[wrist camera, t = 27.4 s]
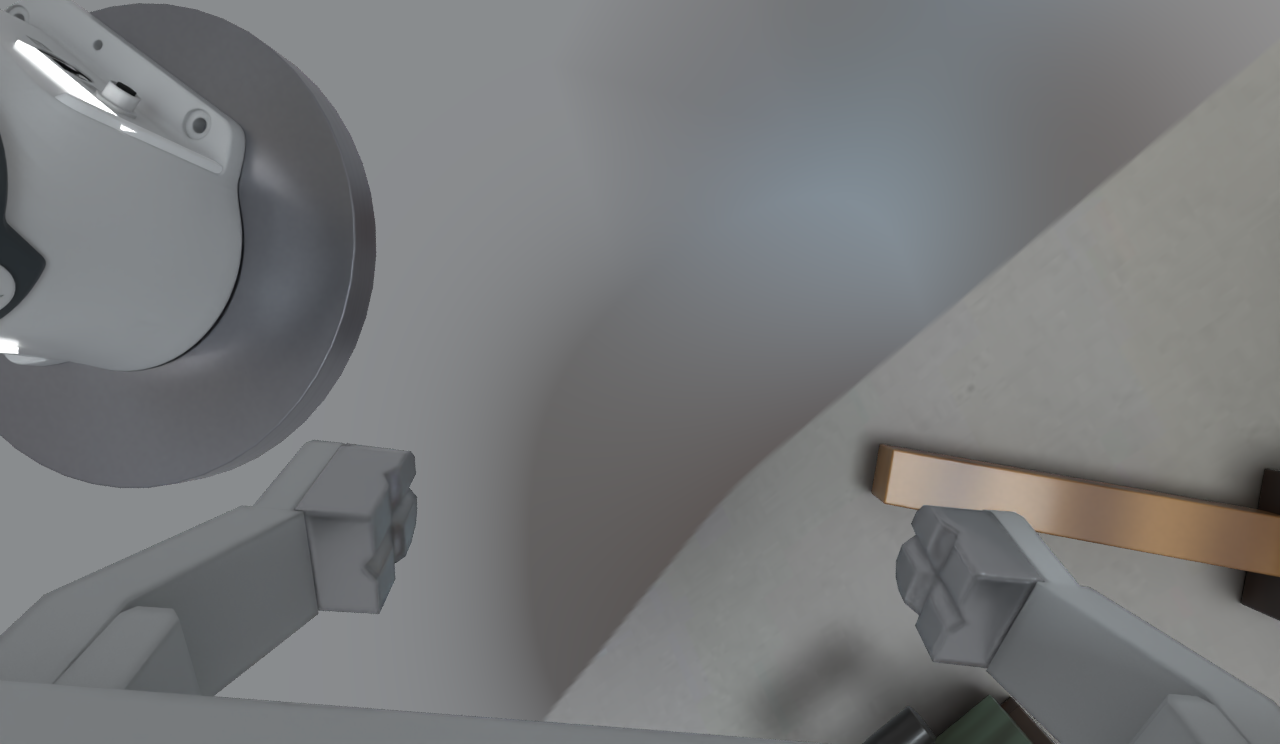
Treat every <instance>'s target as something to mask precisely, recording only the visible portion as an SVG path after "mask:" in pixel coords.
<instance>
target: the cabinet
mask: <svg viewBox="0 0 1280 744" xmlns="http://www.w3.org/2000/svg"><path fill="white" fill-rule="evenodd" d="M1000 706H1001V707H1002V708H1003V709H1004V710H1005V711H1006V712H1007V713H1008V714H1009V715H1010V717H1011V718H1012V719H1013V720H1014V721H1015V722H1016V724H1017V725H1018V726H1019V727H1020V728H1021V730H1022V731H1023V732H1024V733H1025V734H1026V735H1027V737H1028V738H1029V739H1030V740H1031V741H1032V743H1033V744H1055V743H1054V742H1053V741H1052V740H1051V739H1050V738H1049V737H1048V736H1047V735H1046V734H1045V732H1044V731H1043V730H1042V729H1041V728H1040V727H1039V726H1038V725H1037V724H1036V723H1035V722H1034V721H1033V720H1032V719H1031V717H1030V716H1029V715H1028V714H1027V713H1026V712H1025V711H1024V710H1023V709H1022V708H1021V707H1020V706H1019V705H1018V704H1017V702H1016V701H1015V700H1014V699H1013V698H1011V697H1010V698H1009V699H1008V700H1006V701H1005V702H1004V703H1003V704H1002V705H1000Z"/></svg>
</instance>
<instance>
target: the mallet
mask: <svg viewBox="0 0 1280 744" xmlns="http://www.w3.org/2000/svg"><path fill="white" fill-rule="evenodd" d="M872 494H873V495H874V496H875V497H877V498H878V499H879V500H881V501H882V502H883V503H885V504H889V505H894V506H899V507H905V508H910V509H916V510H919V509H920V508H921V507H922V506H923V505H932V506H942V507H952V508H962V509H973V510H997V511H1010V512H1016V513H1017V514H1019V515H1021V516H1023V517H1024V518H1025V519H1026V520H1027V522H1028V523H1029V524H1030V525H1031V526H1032V528H1033V529H1034V530H1035V531H1036V532H1039V533H1045V534H1050V535H1055V536H1061V537H1066V538H1071V539H1077V540H1082V541H1088V542H1093V543H1098V544H1104V545H1109V546H1115V547H1120V548H1125V549H1131V550H1136V551H1141V552H1147V553H1152V554H1158V555H1163V556H1168V557H1174V558H1179V559H1184V560H1190V561H1195V562H1201V563H1206V564H1211V565H1217V566H1222V567H1227V568H1233V569H1238V570H1244V571H1247V573H1246V579H1245V584H1244V590H1243V596H1242V601H1241V603H1242V604H1243V605H1245V606H1247V607H1250V608H1252V609H1254V610H1256V611H1259V612H1261V613H1263V614H1266V615H1268V616H1270V617H1273V618H1275V619H1277V620H1279V621H1280V471H1277V470H1271V469H1265V472H1264V478H1263V484H1262V489H1261V495H1260V500H1259V506H1258V509H1253V508H1247V507H1242V506H1236V505H1230V504H1224V503H1219V502H1213V501H1207V500H1201V499H1196V498H1190V497H1184V496H1178V495H1173V494H1167V493H1161V492H1155V491H1150V490H1144V489H1138V488H1132V487H1127V486H1121V485H1115V484H1109V483H1104V482H1098V481H1092V480H1086V479H1081V478H1075V477H1069V476H1063V475H1058V474H1052V473H1046V472H1040V471H1035V470H1029V469H1023V468H1017V467H1012V466H1006V465H1000V464H994V463H989V462H983V461H977V460H971V459H966V458H960V457H954V456H948V455H943V454H937V453H931V452H925V451H920V450H914V449H908V448H902V447H897V446H891V445H885V444H880V445H879V451H878V457H877V463H876V469H875V475H874V480H873V486H872Z"/></svg>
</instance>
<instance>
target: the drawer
mask: <svg viewBox="0 0 1280 744" xmlns="http://www.w3.org/2000/svg"><path fill="white" fill-rule="evenodd" d="M862 744H1033V743H1032V741H1031V740H1030V739H1029V738H1028V737H1027V735H1026V734H1025V733H1024V732H1023V731H1022V730H1021V728H1020V727H1019V726H1018V725H1017V724H1016V722H1015V721H1014V720H1013V719H1012V718H1011V717H1010V715H1009V714H1008V713H1007V712H1006V711H1005V710H1004V709H1003V708H1002V707H1001V706H1000V705H999V704H998V702H997V701H996V700H995V699H994V698H993V697H992V696H991V695H988V696H987V697H986V698H985V699H984V700H982V701H981V702H980V703H979V704H977V705H976V706H975V707H974V708H972V709H971V710H970V711H969V712H968V713H966V714H965V715H964V716H963V717H961V718H960V719H959V720H958V721H957V722H955V723H954V724H953V725H952V726H950V727H949V728H948V729H947V730H946V731H944V732H943V733H942V734H941V735H939V736H938V737H937V738H936V737H935V735H934V734H933V732H932V731H931V729H930V728H929V727H928V725H927V724H926V723H925V722H924V720H923V719H922V718H921V717H920V716H919V715H918V713H917V712H916V711H915V710H914V709H913V708H911V707H910V706H907V707H906V708H905V709H903V710H902V711H901V712H900V713H899V714H897V715H896V716H895V717H894V718H893V719H891V720H890V721H889V722H888V723H886V724H885V725H884V726H883V727H882V728H880V729H879V730H878V731H877V732H876V733H874V734H873V735H872V736H871V737H870V738H868V739H867V740H866V741H865V742H864V743H862Z"/></svg>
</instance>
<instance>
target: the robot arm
mask: <svg viewBox="0 0 1280 744" xmlns="http://www.w3.org/2000/svg"><path fill="white" fill-rule="evenodd" d="M206 124H207V126H206V129H205V131H204V132H203V129H204V127H205V125H206ZM245 147H246V139H245V134H244V131H243V129H242V128H241V126H240V125H239V124H238V123H237V122H235V121H234V120H233V119H231V118H230V117H229V116H227V115H226V114H225V113H223V112H222V111H221V110H219V109H218V108H217V107H215V106H214V105H213V104H211V103H210V102H209V101H207V100H206V99H205V98H203V97H202V96H201V95H199V94H198V93H197V92H195V91H194V90H192V89H191V88H190V87H188V86H187V85H186V84H184V83H183V82H182V81H180V80H179V79H178V78H176V77H175V76H174V75H172V74H171V73H170V72H168V71H167V70H166V69H164V68H163V67H162V66H160V65H159V64H158V63H156V62H155V61H154V60H152V59H151V58H149V57H148V56H147V55H145V54H144V53H143V52H141V51H140V50H139V49H137V48H136V47H135V46H133V45H132V44H131V43H129V42H128V41H127V40H125V39H124V38H123V37H121V36H120V35H119V34H117V33H116V32H115V31H113V30H112V29H111V28H109V27H108V26H106V25H105V24H104V23H102V22H101V21H100V20H98V19H97V18H96V17H94V16H93V15H92V14H90V13H89V12H88V11H86V10H85V9H84V8H82V7H81V6H79V5H78V4H77V3H75V2H73V1H71V0H20V1H18V2H16V3H14V4H12V5H11V6H9V7H8V8H6V9H4V10H1V9H0V354H4V355H5V357H6V358H7V359H8V360H9V361H11V362H13V363H15V364H20V365H29V366H50V365H55V364H60V363H65V362H74V363H80V364H84V365H88V366H93V367H97V368H102V369H106V370H113V371H138V370H144V369H149V368H153V367H156V366H159V365H162V364H164V363H166V362H169V361H171V360H173V359H175V358H176V357H178V356H180V355H181V354H183V353H184V352H186V351H187V350H189V349H190V348H191V347H192V346H194V345H195V344H196V343H197V342H198V341H199V340H200V339H201V338H202V337H203V336H204V335H205V334H206V333H207V332H208V331H209V330H210V328H211V327H212V326H213V325H214V323H215V322H216V320H217V319H218V318H219V316H220V315H221V313H222V311H223V309H224V308H225V306H226V304H227V302H228V300H229V298H230V295H231V293H232V290H233V288H234V285H235V282H236V278H237V274H238V271H239V266H240V260H241V252H242V224H241V216H240V209H239V202H238V181H239V177H240V173H241V169H242V165H243V160H244V155H245ZM415 475H416V470H415V457H414V455H413V454H412V453H411V451H404V450H396V449H388V448H380V447H372V446H363V445H356V444H348V443H347V444H344V443H338V442H328V441H319V440H312V441H309V442H306V443H305V444H304V445H303V446H302V448H301V449H300V450H299V451H298V452H297V454H296V455H295V456H294V457H293V459H292V460H291V461H290V462H289V463H288V464H287V466H286V467H285V468H284V469H283V470H282V472H281V473H280V474H279V475H278V476H277V478H276V479H275V480H274V481H273V482H272V484H271V485H270V486H269V487H268V488H267V490H266V491H265V492H264V493H263V495H262V496H261V497H260V498H259V499H258V500H257V502H256V503H255V504H254V505H253V506H240V507H237V508H235V509H233V510H231V511H229V512H226V513H224V514H222V515H220V516H217V517H215V518H213V519H211V520H209V521H207V522H204V523H202V524H200V525H198V526H195V527H193V528H191V529H189V530H186V531H184V532H182V533H180V534H178V535H175V536H173V537H171V538H169V539H167V540H164V541H162V542H160V543H158V544H156V545H153V546H151V547H149V548H147V549H144V550H142V551H140V552H138V553H136V554H133V555H131V556H129V557H127V558H125V559H122V560H120V561H118V562H116V563H113V564H111V565H109V566H107V567H104V568H102V569H100V570H98V571H96V572H93V573H91V574H89V575H87V576H85V577H82V578H80V579H78V580H76V581H74V582H71V583H69V584H67V585H65V586H62V587H60V588H58V589H56V590H54V591H51V592H49V593H47V594H45V595H43V596H42V597H41V598H40V599H39V600H38V601H37V602H36V603H35V604H34V605H33V606H32V607H31V608H30V609H28V611H26V612H25V613H24V614H23V615H22V616H21V617H20V618H19V619H18V620H17V621H15V622H14V623H13V624H12V625H11V626H10V627H9V628H8V629H7V630H6V631H5V632H4V633H3V634H2V635H0V744H828V743H815V742H802V741H789V740H776V739H763V738H750V737H737V736H724V735H710V734H697V733H684V732H671V731H658V730H645V729H632V728H619V727H606V726H593V725H580V724H567V723H554V722H541V721H527V720H514V719H502V718H489V717H488V718H487V717H476V716H462V715H450V714H436V713H424V712H411V711H410V712H409V711H398V710H385V709H372V708H359V707H346V706H332V705H320V704H307V703H293V702H281V701H268V700H254V699H240V698H228V697H215V696H214V695H216V694H217V693H218V692H219V691H221V690H222V689H223V688H224V687H226V686H227V685H228V684H230V683H231V682H232V681H233V680H235V679H236V678H237V677H238V676H240V675H241V674H242V673H243V672H245V671H246V670H247V669H249V668H250V667H251V666H253V665H254V664H255V663H256V662H258V661H259V660H260V659H261V658H263V657H264V656H265V655H267V654H268V653H269V652H270V651H271V650H273V649H274V648H275V647H277V646H278V645H279V644H280V643H282V642H283V641H284V640H285V639H287V638H288V637H289V636H291V635H292V634H293V633H295V632H296V631H297V630H298V629H300V628H301V627H302V626H303V625H305V624H306V623H307V622H308V621H310V620H311V619H312V618H314V617H315V616H316V615H317V614H318V610H321V611H337V612H354V613H355V612H356V613H371V614H372V613H373V614H379V613H380V611H381V609H382V607H383V605H384V602H385V600H386V598H387V596H388V594H389V592H390V589H391V587H392V585H393V583H394V581H395V563H396V562H398V561H399V560H401V559H402V558H404V557H405V556H406V554H407V551H408V549H409V547H410V544H411V542H412V537H413V534H414V529H415V525H416V517H417V496H416V495H415V494H414V493H413V492H412V490H411V489H410V488H409V487H410V485H411V483H412V481H413V479H414V476H415ZM911 524H912V527H913V529H914V532H915V534H916V535H915V536H914V537H912V538H911V539H910V540H908V541H907V542H905V543H904V544H903V545H902V547H901V550H900V552H899V555H898V558H897V560H896V580H897V585H898V589H899V592H900V594H901V596H902V599H903V601H904V603H905V604H907V605H908V606H909V607H910V608H911V609H913V610H914V611H915V612H916V613H917V614H919V617H918V620H917V623H916V625H915V626H916V628H917V630H918V632H919V634H920V636H921V638H922V641H923V643H924V645H925V647H926V649H927V651H928V653H929V655H930V657H931V659H932V661H933V662H938V663H947V664H956V665H964V666H973V667H982V668H987V670H986V671H987V672H988V673H989V674H990V675H991V676H992V677H993V678H994V679H995V680H996V681H997V682H998V683H999V684H1000V685H1001V686H1002V687H1003V688H1004V689H1005V690H1006V691H1007V692H1009V693H1010V694H1011V695H1012V696H1013V697H1014V698H1015V699H1016V700H1017V701H1018V702H1019V703H1020V704H1021V705H1022V706H1023V707H1024V708H1025V709H1026V710H1027V711H1028V712H1029V713H1030V714H1031V715H1032V716H1033V717H1034V718H1035V719H1036V720H1037V721H1038V722H1039V723H1040V724H1041V725H1042V726H1043V727H1044V728H1045V729H1046V730H1048V731H1049V732H1050V733H1051V734H1052V735H1053V736H1054V737H1055V738H1056V739H1057V740H1058V741H1059V742H1060V743H1061V744H1280V707H1279V706H1278V705H1277V704H1276V703H1275V702H1274V701H1273V700H1271V699H1270V698H1268V697H1266V696H1265V695H1263V694H1262V693H1260V692H1258V691H1257V690H1255V689H1254V688H1252V687H1250V686H1249V685H1247V684H1245V683H1244V682H1242V681H1241V680H1239V679H1237V678H1236V677H1234V676H1233V675H1231V674H1229V673H1228V672H1226V671H1225V670H1223V669H1221V668H1220V667H1218V666H1216V665H1215V664H1213V663H1212V662H1210V661H1208V660H1207V659H1205V658H1204V657H1202V656H1200V655H1199V654H1197V653H1196V652H1194V651H1192V650H1191V649H1189V648H1187V647H1186V646H1184V645H1183V644H1181V643H1179V642H1178V641H1176V640H1175V639H1173V638H1171V637H1170V636H1168V635H1167V634H1165V633H1163V632H1162V631H1160V630H1158V629H1157V628H1155V627H1154V626H1152V625H1150V624H1149V623H1147V622H1146V621H1144V620H1142V619H1141V618H1139V617H1138V616H1136V615H1134V614H1133V613H1131V612H1129V611H1128V610H1126V609H1125V608H1123V607H1121V606H1120V605H1118V604H1117V603H1115V602H1113V601H1112V600H1110V599H1109V598H1107V597H1105V596H1104V595H1102V594H1100V593H1099V592H1097V591H1096V590H1094V589H1092V588H1091V587H1086V586H1080V585H1079V584H1078V583H1077V581H1076V580H1075V579H1074V578H1073V576H1072V575H1071V574H1070V573H1069V572H1068V570H1067V569H1066V568H1065V567H1064V565H1063V564H1062V563H1061V562H1060V561H1059V559H1058V558H1057V557H1056V556H1055V554H1054V553H1053V552H1052V551H1051V550H1050V548H1049V547H1048V546H1047V545H1046V544H1045V542H1044V541H1043V540H1042V539H1041V537H1040V536H1039V535H1038V534H1037V533H1036V531H1035V530H1034V529H1033V528H1032V526H1031V525H1030V524H1029V523H1028V522H1027V520H1026V519H1025V518H1024V517H1023V516H1021V515H1019V514H1017V513H1016V512H1010V511H997V510H973V509H962V508H952V507H942V506H932V505H923V506H922V507H921V508H920V509H919V510H918V511H917V512H916V514H915V517H914V519H913V521H912V523H911Z"/></svg>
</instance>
